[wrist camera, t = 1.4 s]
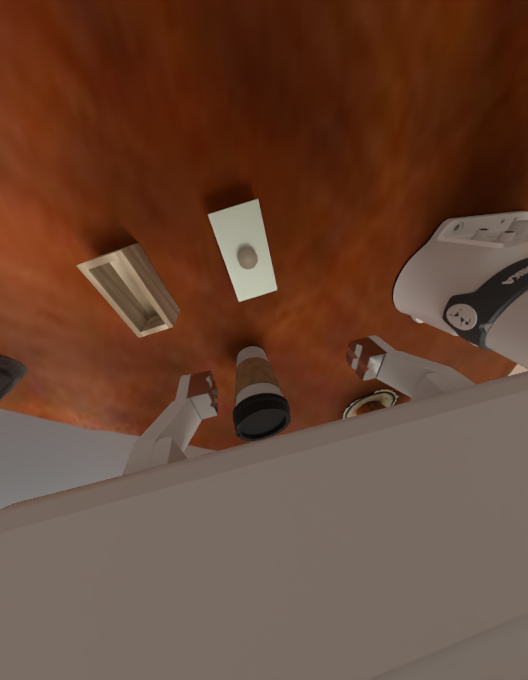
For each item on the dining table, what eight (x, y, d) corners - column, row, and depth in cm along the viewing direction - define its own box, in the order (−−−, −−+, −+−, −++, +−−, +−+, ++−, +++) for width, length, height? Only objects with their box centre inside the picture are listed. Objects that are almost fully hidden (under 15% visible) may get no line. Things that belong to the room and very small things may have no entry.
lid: (254, 199, 23) (259, 198, 20) (272, 281, 30) (278, 292, 26) (209, 213, 23) (207, 214, 20) (237, 292, 30) (239, 304, 26)
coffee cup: (224, 346, 35) (225, 420, 23) (268, 336, 35) (291, 402, 23) (236, 376, 40) (241, 449, 28) (274, 366, 40) (295, 434, 28)
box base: (138, 242, 23) (120, 250, 19) (180, 310, 29) (173, 326, 25) (101, 255, 24) (76, 265, 20) (150, 320, 30) (138, 337, 26)
